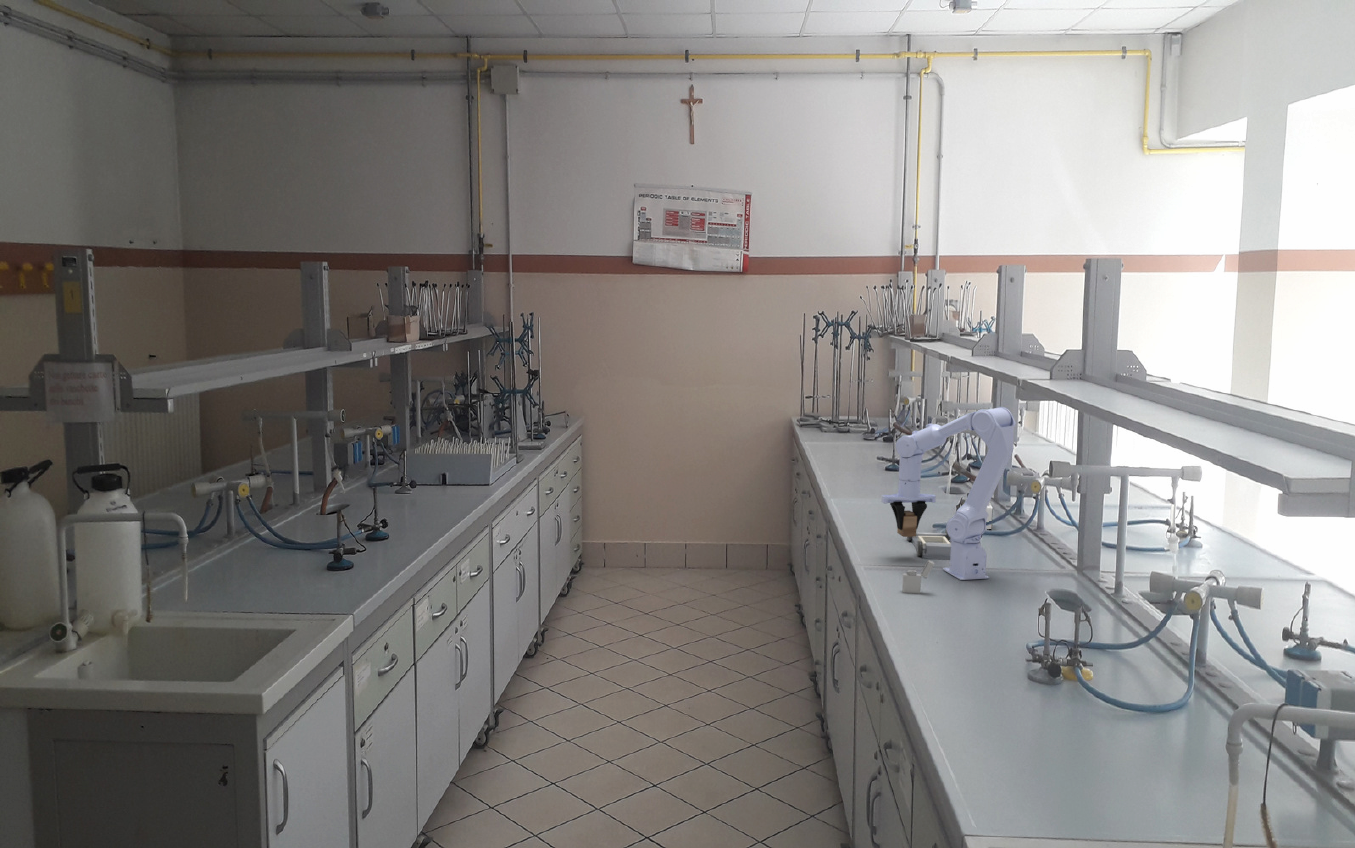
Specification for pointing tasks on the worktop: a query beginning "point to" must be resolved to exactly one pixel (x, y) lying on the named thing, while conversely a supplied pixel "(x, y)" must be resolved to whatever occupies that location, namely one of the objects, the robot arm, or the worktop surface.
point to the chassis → (932, 545)
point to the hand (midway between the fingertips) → (907, 528)
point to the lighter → (915, 579)
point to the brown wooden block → (908, 525)
